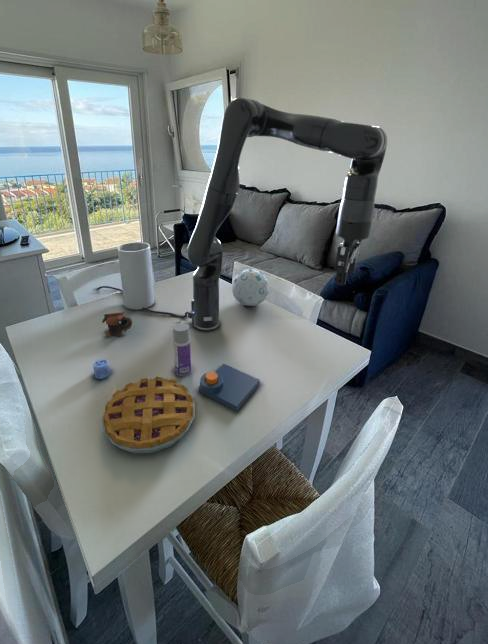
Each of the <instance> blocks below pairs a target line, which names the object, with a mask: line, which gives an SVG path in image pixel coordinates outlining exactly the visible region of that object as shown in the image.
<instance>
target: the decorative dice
mask: <svg viewBox="0 0 488 644" xmlns="http://www.w3.org/2000/svg"><path fill="white" fill-rule="evenodd" d="M92 366H93V374H94V377H95V378H96V379H97V380H103V379H105V378H108V377H109V376H110V365H109V360H107V359H105V358H100V359H97V360H96V361H95V362H93V364H92Z"/></svg>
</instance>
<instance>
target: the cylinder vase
mask: <svg viewBox="0 0 488 644" xmlns="http://www.w3.org/2000/svg"><path fill="white" fill-rule="evenodd" d="M151 252H152V251H151V245H150V244H149V243H148V242H143V241H132V242H126V243H122V244H120V245H118V246H117V255H118V265H119V273H120V282H121V290H123V293H122V296H123V297H122V298H123V305H124V307H125V308H126V309H129V310H133V311H134V310H135V311H139V310H143V309H142V308H146V309H149V307H151V306H153V305H154V304H155V291H154V290H155V289H154V279H153V267H152V266H153V265H152V253H151Z"/></svg>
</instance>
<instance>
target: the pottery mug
mask: <svg viewBox="0 0 488 644" xmlns="http://www.w3.org/2000/svg"><path fill="white" fill-rule="evenodd" d="M101 323H102V324H105V325H106V326H107V328H108V329H107V330H104V334H105V337H106V338H114V337H115V338H117V337H123V332H124V333H126V332H127V331H128V330H130V329H131V327H132V325H133V320H132V318H130V317H128V316H127V315H126V312H124V311H120V312H111V313H105V314H103V318H102V321H101Z"/></svg>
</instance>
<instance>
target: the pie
mask: <svg viewBox="0 0 488 644" xmlns="http://www.w3.org/2000/svg"><path fill="white" fill-rule="evenodd" d="M193 398H194V397H192V394H191V392H190V391H189V389H188V387H187V386H185V385H184V384H181V383H180V382H179V381H178V380H177V379H173V378H169V379H167V378H163V377H162V376H155V377H154V378H148V377H144V378H140V380H139V381H136V382H132V381H131V382H129V383H127V384H125V386H124V387H123V388H121V389H117V390H115V391H114V393H113V394H112V397H111V398H110V399H109V400H108V401H107V402H106V404H105V408H104V411H103V414H102V417H101V423H102V429H103V431H102V432H103V434H104V435H105V436H106V438H107V439H108V440H109V441H110V443H111V444H112V445H113V446H116V447H118V448H119V449H120V450H122V451H125V452H128V453H132V454H153V453H156V452H159V451H161V450H164V449H167V448H170V447H172V446H173V445H174V444H176V443H177V442H179V441H180V440H181V439H182V438H183V437H184V435H185V434H186V433H187V432H188V431H189V428H190V427H191V425H192V423H193V421H194V419H195V411H196V409H195V408H196V405H195V403H196V402H195V401H194V399H193Z"/></svg>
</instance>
